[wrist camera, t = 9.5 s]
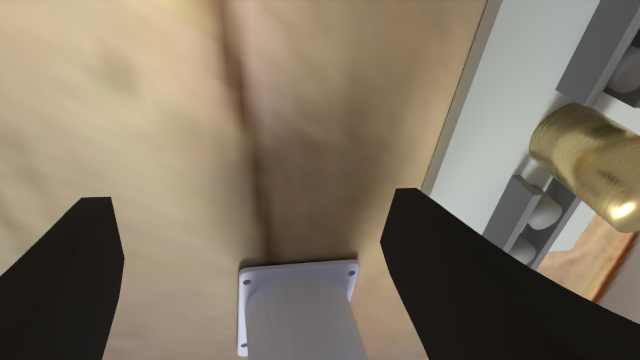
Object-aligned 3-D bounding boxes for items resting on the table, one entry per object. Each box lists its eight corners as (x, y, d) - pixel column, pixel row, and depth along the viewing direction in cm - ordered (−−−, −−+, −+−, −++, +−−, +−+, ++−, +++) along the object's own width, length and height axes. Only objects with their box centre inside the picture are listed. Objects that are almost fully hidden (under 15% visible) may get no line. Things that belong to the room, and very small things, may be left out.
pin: (572, 161, 24) (661, 228, 20) (518, 165, 23) (597, 236, 19) (607, 102, 22) (716, 162, 17) (548, 103, 21) (647, 167, 16)
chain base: (561, 240, 31) (590, 269, 28) (399, 253, 27) (416, 287, 25) (755, -49, 19) (830, -41, 17) (521, -94, 16) (575, -91, 13)
